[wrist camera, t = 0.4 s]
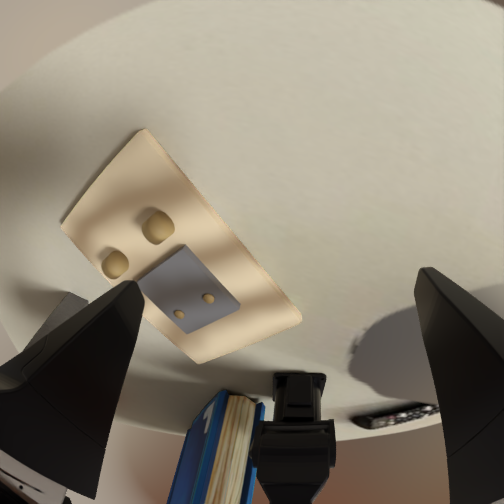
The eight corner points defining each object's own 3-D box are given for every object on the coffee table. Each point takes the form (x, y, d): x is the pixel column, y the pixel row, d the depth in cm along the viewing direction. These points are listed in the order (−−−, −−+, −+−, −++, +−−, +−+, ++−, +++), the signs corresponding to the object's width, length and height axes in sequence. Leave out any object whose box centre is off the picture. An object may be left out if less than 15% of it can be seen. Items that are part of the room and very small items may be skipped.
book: (217, 441, 48) (192, 551, 27) (183, 430, 47) (151, 541, 26) (267, 400, 37) (244, 568, 16) (221, 384, 36) (179, 558, 15)
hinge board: (301, 314, 28) (301, 339, 25) (200, 357, 34) (194, 379, 31) (146, 128, 21) (125, 135, 18) (66, 221, 26) (47, 237, 23)
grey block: (111, 311, 32) (52, 406, 20) (112, 338, 35) (64, 425, 22) (69, 292, 32) (5, 375, 19) (74, 320, 34) (21, 398, 22)
